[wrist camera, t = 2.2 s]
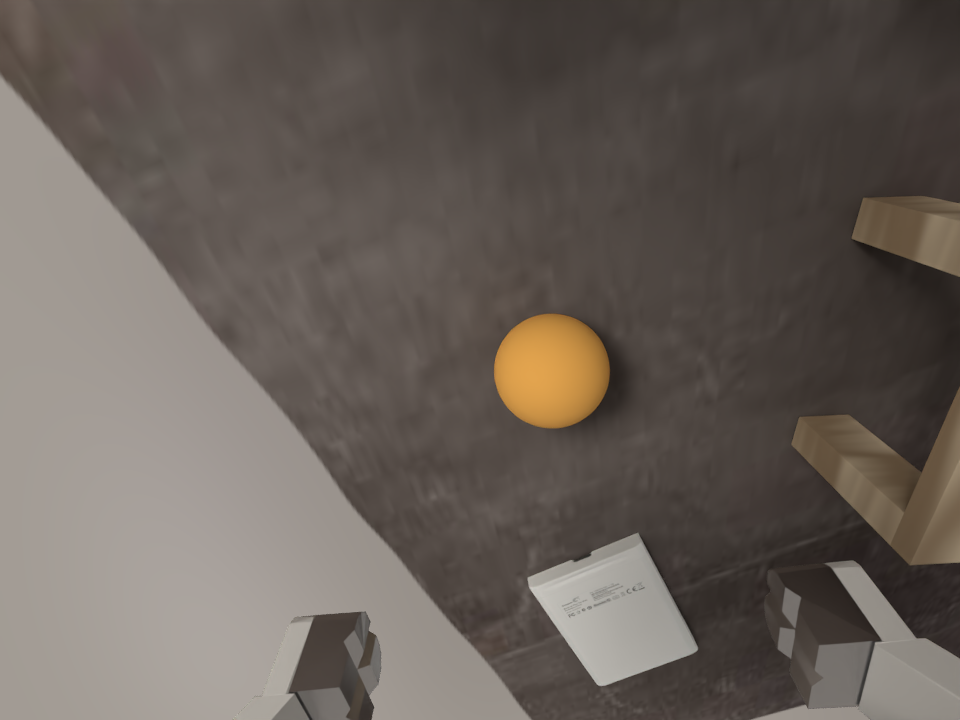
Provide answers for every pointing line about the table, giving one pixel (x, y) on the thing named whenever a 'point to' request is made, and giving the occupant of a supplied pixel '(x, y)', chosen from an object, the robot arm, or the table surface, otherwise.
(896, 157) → the table surface
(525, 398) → the ball
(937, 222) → the bridge
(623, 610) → the external hard drive
